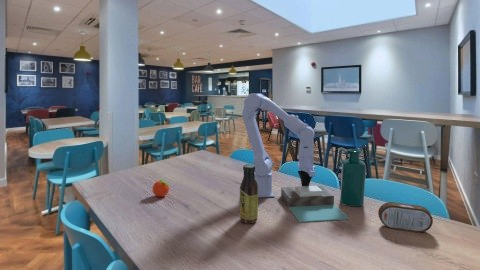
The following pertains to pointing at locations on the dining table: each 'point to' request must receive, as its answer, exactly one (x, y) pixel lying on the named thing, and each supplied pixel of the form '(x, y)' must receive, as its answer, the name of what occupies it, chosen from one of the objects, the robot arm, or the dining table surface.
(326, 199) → the grey flat block
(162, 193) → the clementine
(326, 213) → the mat
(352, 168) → the green bottle
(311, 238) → the dining table surface
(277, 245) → the dining table surface
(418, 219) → the tin
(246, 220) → the sauce bottle
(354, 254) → the dining table surface
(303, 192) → the white block
